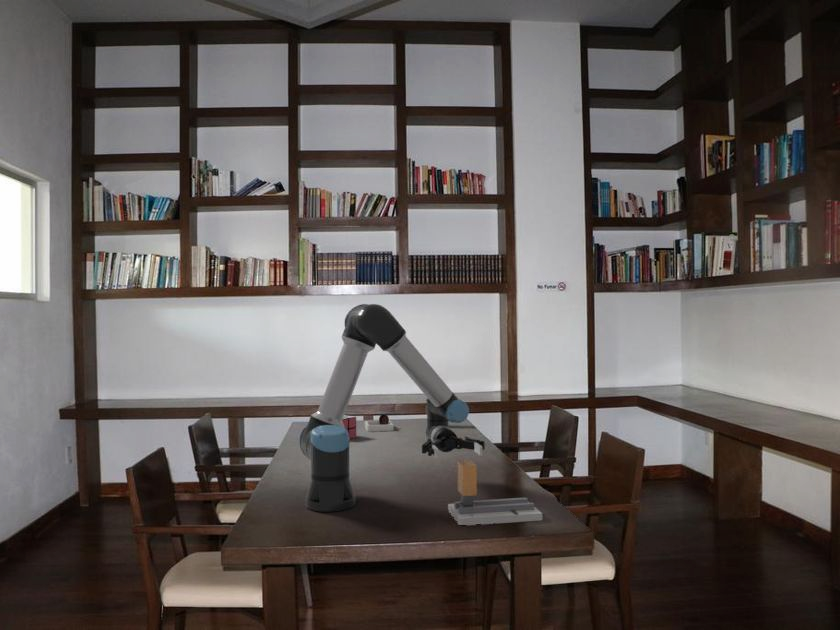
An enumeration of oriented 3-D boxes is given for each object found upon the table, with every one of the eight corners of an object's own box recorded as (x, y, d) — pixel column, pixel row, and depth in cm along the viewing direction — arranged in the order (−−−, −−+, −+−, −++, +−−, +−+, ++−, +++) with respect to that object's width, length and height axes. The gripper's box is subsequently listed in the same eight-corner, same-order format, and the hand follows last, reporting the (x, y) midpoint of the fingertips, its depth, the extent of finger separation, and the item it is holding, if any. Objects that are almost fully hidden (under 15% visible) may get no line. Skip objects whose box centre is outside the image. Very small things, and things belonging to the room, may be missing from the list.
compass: (370, 429, 326) (369, 415, 326) (380, 427, 332) (380, 413, 332) (381, 431, 321) (381, 416, 321) (392, 428, 327) (392, 414, 327)
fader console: (459, 525, 178) (459, 512, 178) (448, 510, 192) (448, 498, 192) (542, 520, 182) (542, 507, 182) (525, 505, 196) (525, 493, 196)
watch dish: (367, 431, 319) (367, 425, 319) (364, 427, 332) (364, 421, 332) (393, 430, 322) (393, 424, 321) (390, 426, 334) (389, 420, 334)
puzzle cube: (356, 438, 304) (356, 416, 304) (340, 441, 296) (340, 419, 296) (343, 435, 310) (342, 414, 310) (326, 438, 303) (326, 417, 303)
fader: (462, 512, 182) (462, 466, 182) (457, 506, 188) (457, 461, 188) (477, 511, 183) (477, 465, 183) (471, 505, 189) (471, 460, 189)
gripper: (480, 447, 219) (499, 462, 199) (407, 452, 215) (419, 467, 194) (479, 425, 219) (498, 437, 199) (407, 429, 215) (418, 442, 194)
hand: (459, 452), depth 196 cm, fingers open, 13 cm apart
